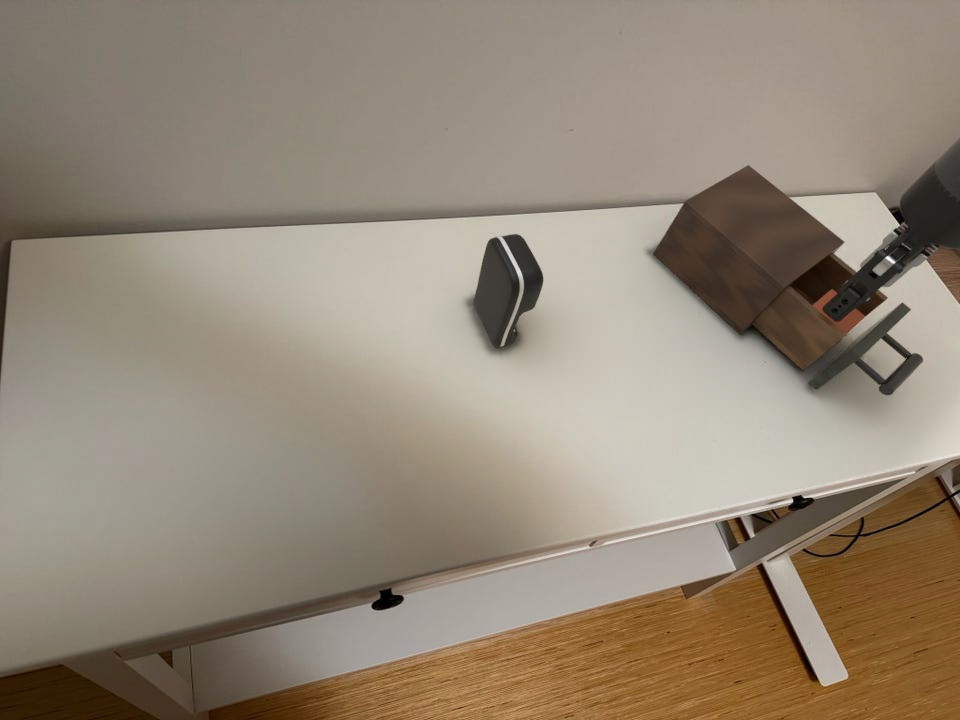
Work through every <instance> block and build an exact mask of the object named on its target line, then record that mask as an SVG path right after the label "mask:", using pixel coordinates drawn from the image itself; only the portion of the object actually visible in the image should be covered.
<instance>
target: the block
mask: <svg viewBox="0 0 960 720" xmlns="http://www.w3.org/2000/svg"><path fill="white" fill-rule="evenodd" d="M836 294H837V293H836V292H835V291H834V290H833V289H831V290H830V291H829V292H827V293H826V294H825V295H824V296H823V297H821V298H820V299H819V300H818V301H817V302H815V303H814V304H813V305H812V306H814V307H815V308H816V309H817V310H818V311H819V312H821V313H822V314H823V315H824V316H825V317H826V318H828V319H829V320H830V321H831V322H832V323H833V324H835V325H836V326H837V327H838V328H839V329H840V330H842V331H843V332H844V333H845V334H846V335H847V334H848V333H849V332H851V330H852V329H854V328H855V327H856V326H857V325H858V324H859V323H860V322H861V321H863V320H864V319H865V318H866V317H865V316H864V315H863V314H862V313H861V312H859V311H858V310H857V309H856V308H855V309H854V310H853V311H851V312H850V313H849V314H848V315H847V316H846V317H844V318H843V319H842V320H841V321H840V322H835V321H834V320H832V319H831V318H830V317H829V316H828V315H827V314H825V313H824V312H823V310H822V308H823V306H824V305H826V304H827V303H828V302H829V301H830V300H831V299H832V298H833V297H834V296H835V295H836Z"/></svg>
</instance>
